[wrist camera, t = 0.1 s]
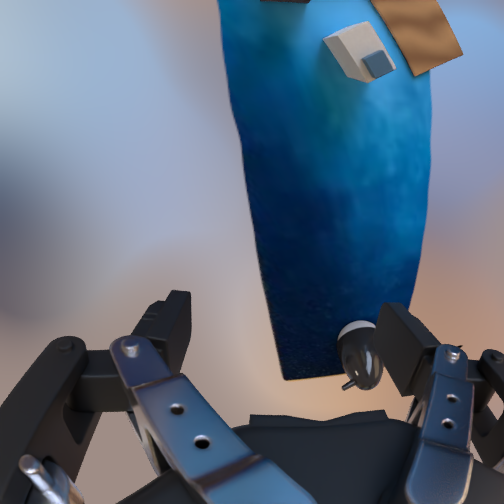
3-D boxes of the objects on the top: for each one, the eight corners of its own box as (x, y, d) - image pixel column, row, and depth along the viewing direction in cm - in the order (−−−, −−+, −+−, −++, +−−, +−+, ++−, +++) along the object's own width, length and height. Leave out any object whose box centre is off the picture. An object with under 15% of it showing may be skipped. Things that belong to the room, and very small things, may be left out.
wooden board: (361, -12, 23) (362, -13, 23) (416, -30, 20) (417, -30, 19) (413, 76, 30) (415, 76, 30) (462, 54, 26) (463, 54, 26)
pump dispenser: (331, 318, 59) (342, 383, 47) (379, 309, 57) (397, 370, 45) (333, 345, 65) (342, 403, 53) (376, 336, 63) (390, 393, 51)
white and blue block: (322, 38, 29) (340, 34, 22) (347, 26, 27) (372, 19, 20) (347, 77, 32) (371, 84, 24) (372, 64, 30) (401, 69, 23)
